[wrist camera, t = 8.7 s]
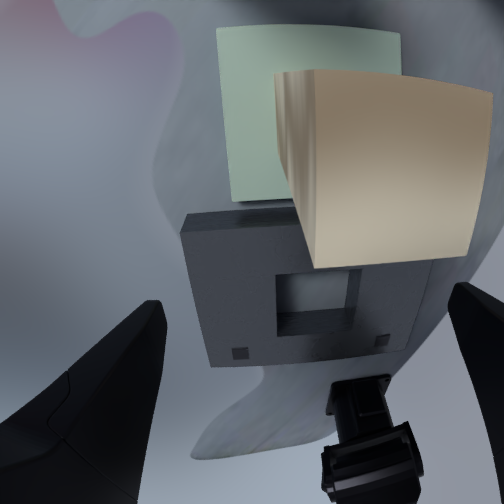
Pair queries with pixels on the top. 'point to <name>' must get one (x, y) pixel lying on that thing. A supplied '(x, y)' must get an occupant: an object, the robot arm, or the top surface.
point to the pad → (262, 89)
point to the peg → (382, 163)
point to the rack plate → (264, 293)
